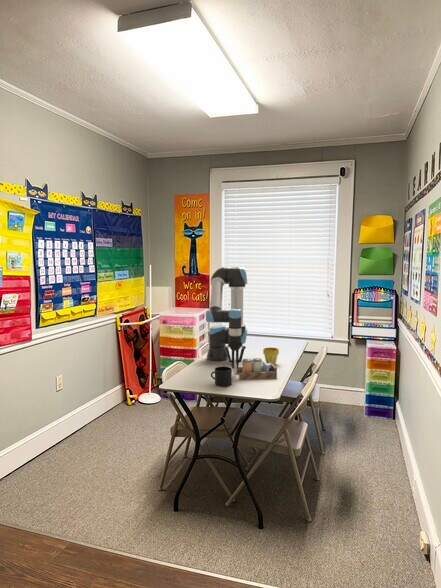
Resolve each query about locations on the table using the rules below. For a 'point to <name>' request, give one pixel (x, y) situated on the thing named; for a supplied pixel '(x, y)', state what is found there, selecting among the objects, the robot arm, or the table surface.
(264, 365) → the pusher
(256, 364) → the sage jar
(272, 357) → the plant pot
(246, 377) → the lane
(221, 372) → the mug
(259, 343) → the table surface
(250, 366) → the clay jar
